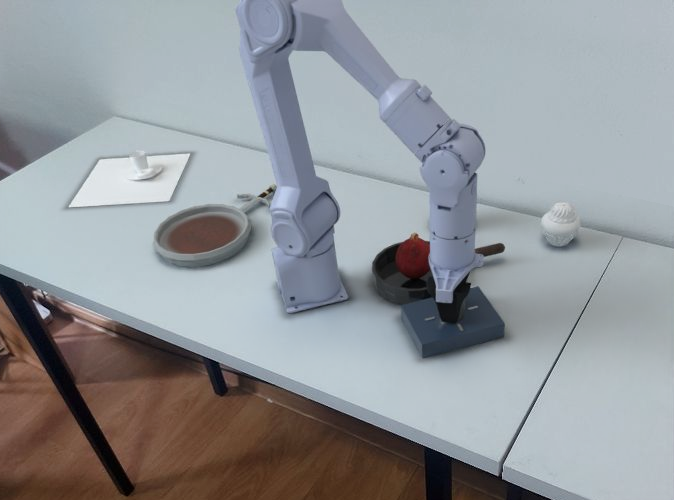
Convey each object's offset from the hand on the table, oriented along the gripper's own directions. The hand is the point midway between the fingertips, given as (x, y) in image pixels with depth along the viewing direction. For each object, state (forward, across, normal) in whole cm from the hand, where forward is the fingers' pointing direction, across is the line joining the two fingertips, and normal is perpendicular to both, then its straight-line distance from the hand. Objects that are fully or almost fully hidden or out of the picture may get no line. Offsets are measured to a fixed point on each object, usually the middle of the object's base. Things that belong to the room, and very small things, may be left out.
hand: (451, 311), depth 91 cm
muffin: (+3, +24, -14) cm, 28 cm away
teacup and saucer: (+3, +36, +70) cm, 79 cm away
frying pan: (+3, +22, +44) cm, 49 cm away
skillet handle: (+2, +16, -2) cm, 16 cm away
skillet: (+3, +10, +7) cm, 13 cm away
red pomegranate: (+3, +10, +7) cm, 13 cm away
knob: (0, 0, 0) cm, 0 cm away
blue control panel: (+3, 0, 0) cm, 3 cm away
